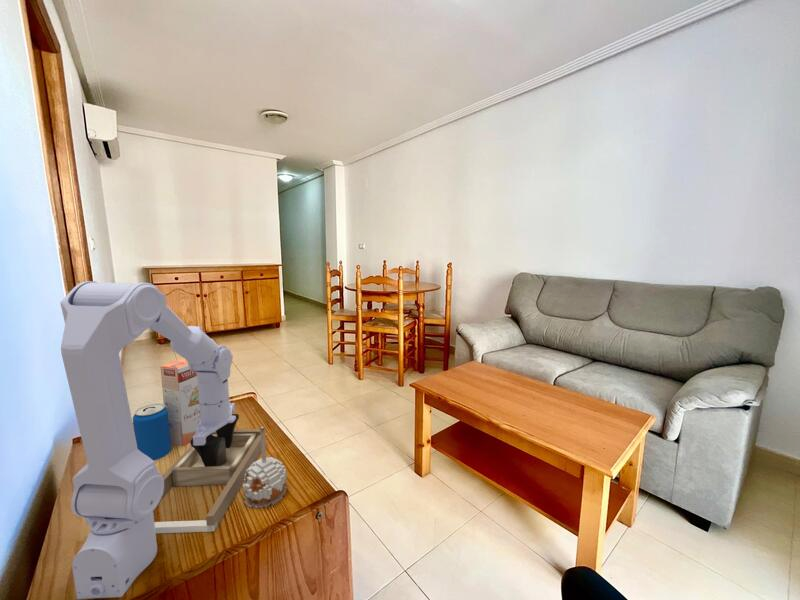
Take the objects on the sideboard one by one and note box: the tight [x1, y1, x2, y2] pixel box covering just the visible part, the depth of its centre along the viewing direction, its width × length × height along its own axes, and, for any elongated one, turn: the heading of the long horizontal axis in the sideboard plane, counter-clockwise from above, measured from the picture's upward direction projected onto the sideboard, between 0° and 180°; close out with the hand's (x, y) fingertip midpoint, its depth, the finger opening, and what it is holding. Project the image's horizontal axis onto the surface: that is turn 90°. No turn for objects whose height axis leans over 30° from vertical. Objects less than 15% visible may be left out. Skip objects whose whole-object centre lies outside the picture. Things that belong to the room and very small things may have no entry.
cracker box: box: [160, 357, 200, 447], centre depth 87 cm, size 14×6×21 cm, turn 164°
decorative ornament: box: [242, 426, 288, 509], centre depth 65 cm, size 8×8×15 cm
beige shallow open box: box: [172, 433, 257, 487], centre depth 74 cm, size 13×12×6 cm
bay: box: [154, 428, 262, 535], centre depth 69 cm, size 26×15×5 cm, turn 4°
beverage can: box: [132, 403, 172, 461], centre depth 77 cm, size 6×6×12 cm
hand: (218, 456), depth 74 cm, fingers open, 6 cm apart
